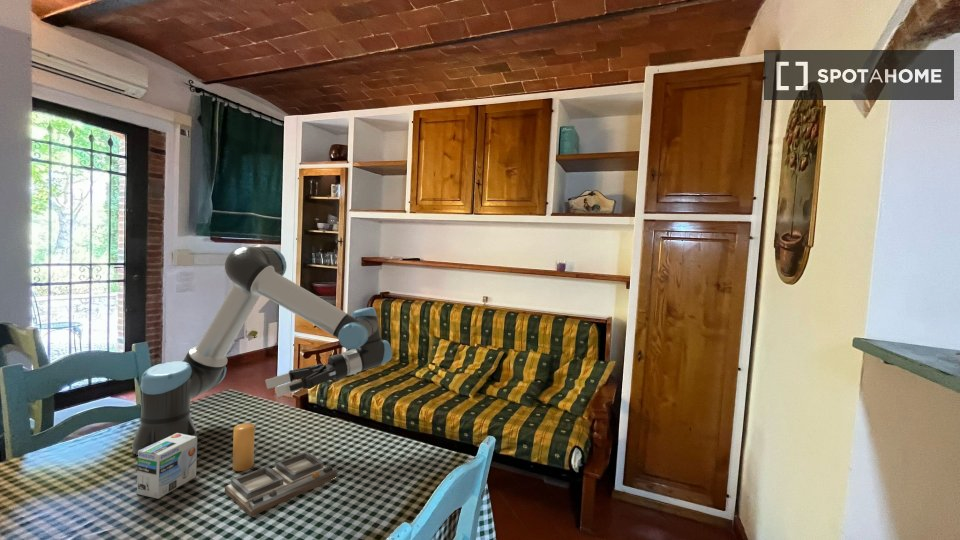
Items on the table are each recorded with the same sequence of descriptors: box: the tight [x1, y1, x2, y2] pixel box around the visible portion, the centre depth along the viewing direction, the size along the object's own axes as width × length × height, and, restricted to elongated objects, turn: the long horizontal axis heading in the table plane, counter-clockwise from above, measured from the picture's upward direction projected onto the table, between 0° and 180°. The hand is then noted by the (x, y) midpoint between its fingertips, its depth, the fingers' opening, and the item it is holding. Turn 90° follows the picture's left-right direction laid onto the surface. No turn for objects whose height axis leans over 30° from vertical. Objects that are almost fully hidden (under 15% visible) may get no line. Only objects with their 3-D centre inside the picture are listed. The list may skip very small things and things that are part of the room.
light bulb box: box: [136, 433, 198, 500], centre depth 103 cm, size 11×7×11 cm, turn 168°
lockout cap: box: [232, 422, 256, 472], centre depth 113 cm, size 5×5×11 cm
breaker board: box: [224, 451, 338, 517], centre depth 106 cm, size 14×22×3 cm, turn 142°
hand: (270, 388), depth 117 cm, fingers open, 13 cm apart
